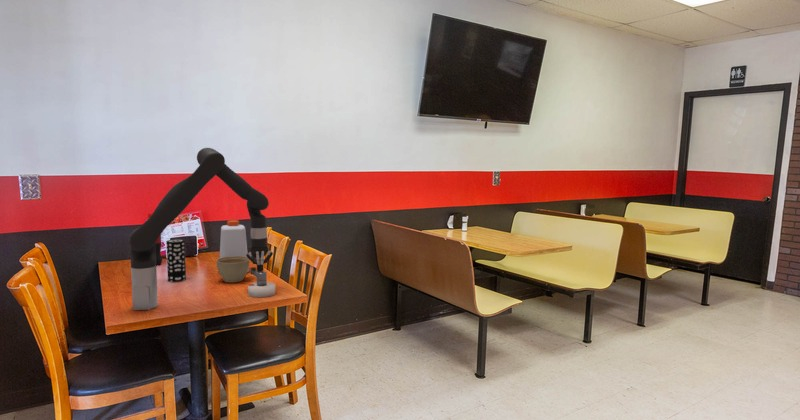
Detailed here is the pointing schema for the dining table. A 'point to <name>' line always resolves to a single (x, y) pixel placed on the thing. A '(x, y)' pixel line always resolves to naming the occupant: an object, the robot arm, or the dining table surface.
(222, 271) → the planter bowl
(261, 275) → the capstan lever
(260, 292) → the stand
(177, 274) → the spotted tube
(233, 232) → the plastic bottle
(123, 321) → the dining table surface
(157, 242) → the cola bottle
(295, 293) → the dining table surface
